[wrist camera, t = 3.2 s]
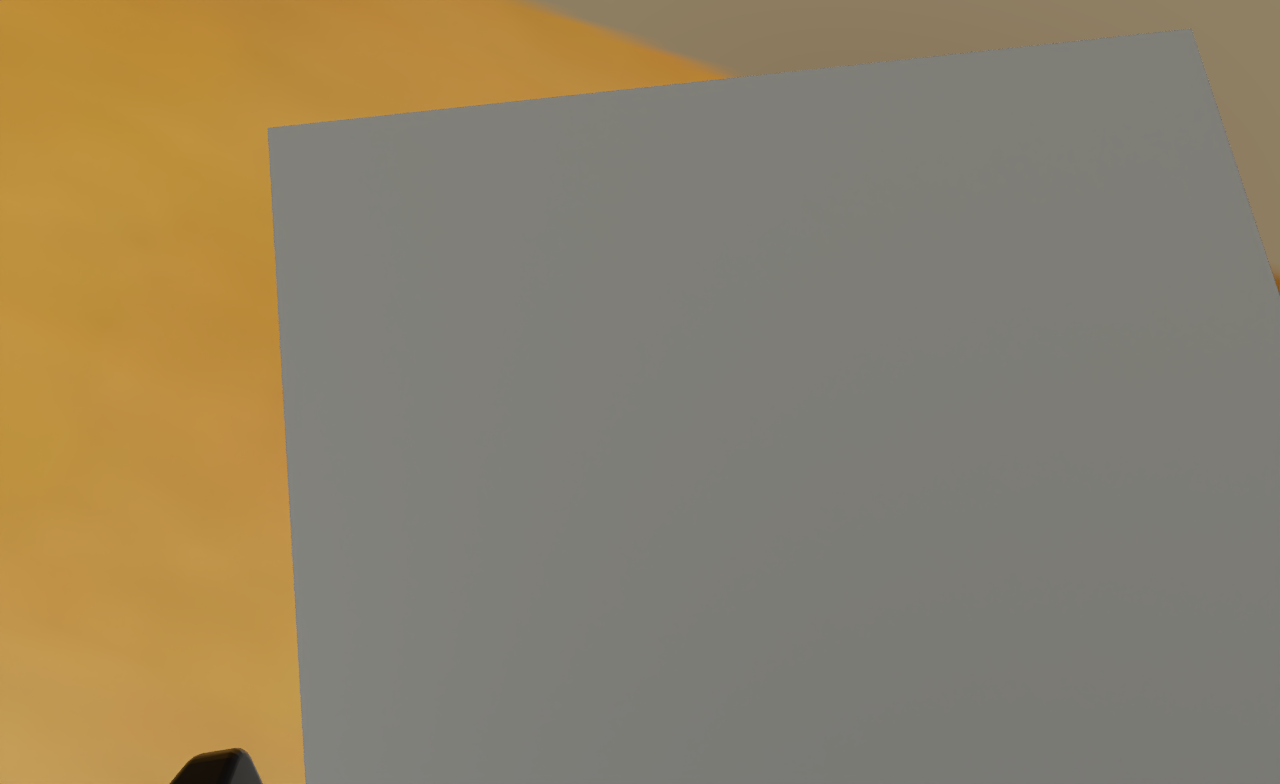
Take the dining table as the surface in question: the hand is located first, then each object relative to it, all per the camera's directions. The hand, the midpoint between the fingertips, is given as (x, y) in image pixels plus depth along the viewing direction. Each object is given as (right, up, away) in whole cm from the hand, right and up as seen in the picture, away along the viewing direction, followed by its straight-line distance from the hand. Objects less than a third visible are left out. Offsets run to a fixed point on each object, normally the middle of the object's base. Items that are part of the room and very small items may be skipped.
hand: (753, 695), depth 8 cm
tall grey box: (0, -1, +7) cm, 7 cm away
